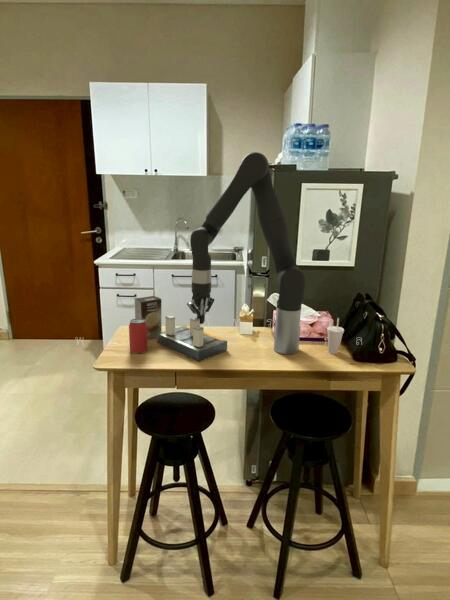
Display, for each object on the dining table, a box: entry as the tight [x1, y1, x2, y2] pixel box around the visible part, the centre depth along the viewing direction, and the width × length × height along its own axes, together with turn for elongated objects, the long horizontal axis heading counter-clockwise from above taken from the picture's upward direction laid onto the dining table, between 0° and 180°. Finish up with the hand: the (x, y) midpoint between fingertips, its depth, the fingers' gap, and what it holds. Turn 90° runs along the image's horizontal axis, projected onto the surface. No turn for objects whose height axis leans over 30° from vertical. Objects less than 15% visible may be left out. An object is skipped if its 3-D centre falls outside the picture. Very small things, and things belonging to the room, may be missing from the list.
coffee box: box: [134, 295, 163, 340], centre depth 167 cm, size 9×6×16 cm
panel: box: [156, 324, 228, 363], centre depth 158 cm, size 15×24×4 cm, turn 47°
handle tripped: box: [189, 316, 201, 336], centre depth 158 cm, size 2×3×7 cm
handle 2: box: [193, 325, 205, 347], centre depth 149 cm, size 2×3×7 cm
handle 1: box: [164, 315, 176, 335], centre depth 159 cm, size 2×3×7 cm
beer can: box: [128, 318, 149, 354], centre depth 152 cm, size 7×7×12 cm
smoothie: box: [326, 317, 345, 355], centre depth 156 cm, size 6×6×14 cm
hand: (200, 323), depth 160 cm, fingers closed
